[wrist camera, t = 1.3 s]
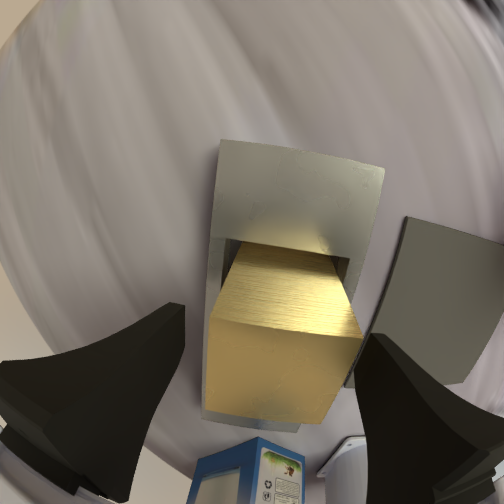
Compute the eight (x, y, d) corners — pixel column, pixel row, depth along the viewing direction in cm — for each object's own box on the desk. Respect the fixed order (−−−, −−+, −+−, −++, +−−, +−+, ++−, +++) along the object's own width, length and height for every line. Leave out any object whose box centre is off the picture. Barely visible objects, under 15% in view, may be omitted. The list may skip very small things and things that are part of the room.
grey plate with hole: (296, 414, 18) (296, 434, 16) (206, 401, 18) (201, 419, 17) (371, 167, 12) (385, 168, 10) (228, 141, 12) (220, 139, 10)
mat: (461, 380, 16) (462, 382, 16) (344, 385, 16) (344, 388, 16) (522, 252, 12) (525, 254, 11) (406, 216, 12) (408, 217, 12)
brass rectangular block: (309, 325, 15) (320, 424, 8) (233, 313, 15) (205, 409, 9) (328, 254, 14) (363, 338, 7) (243, 240, 14) (209, 316, 7)
